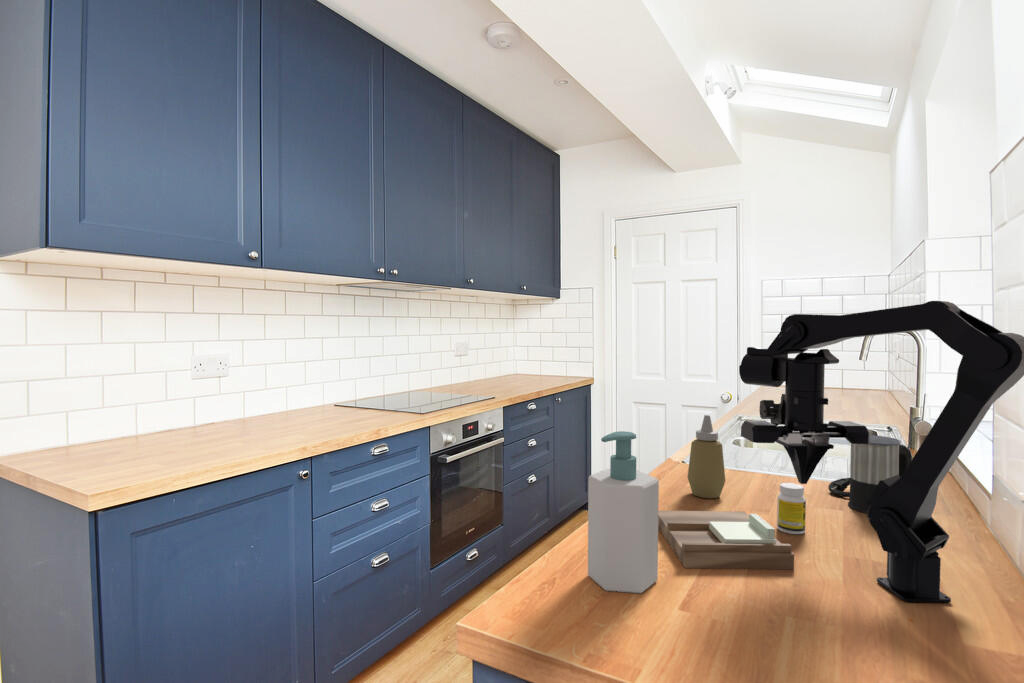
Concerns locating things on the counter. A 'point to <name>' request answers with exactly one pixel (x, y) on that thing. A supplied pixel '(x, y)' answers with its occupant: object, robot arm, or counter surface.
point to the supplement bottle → (791, 509)
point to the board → (718, 543)
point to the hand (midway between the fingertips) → (802, 483)
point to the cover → (744, 531)
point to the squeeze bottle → (706, 462)
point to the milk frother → (871, 469)
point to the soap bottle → (623, 522)
